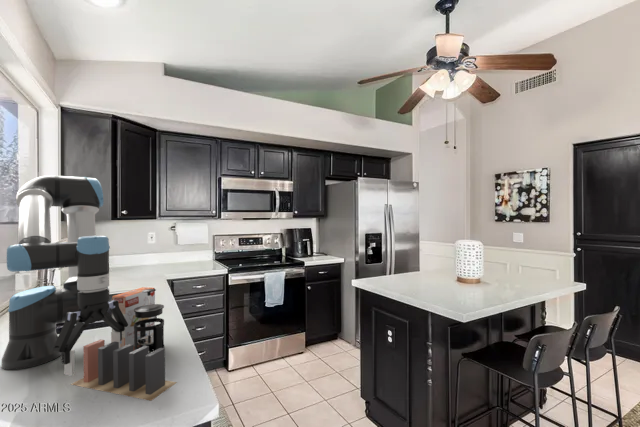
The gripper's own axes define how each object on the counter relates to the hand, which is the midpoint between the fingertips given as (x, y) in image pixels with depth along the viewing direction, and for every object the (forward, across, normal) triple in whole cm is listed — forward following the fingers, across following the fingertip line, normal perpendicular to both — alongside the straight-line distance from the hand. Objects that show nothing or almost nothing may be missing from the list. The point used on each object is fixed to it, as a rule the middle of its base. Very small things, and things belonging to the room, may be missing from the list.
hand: (94, 363), depth 91 cm
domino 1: (+4, 0, -6) cm, 7 cm away
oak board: (+5, 0, -11) cm, 12 cm away
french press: (+5, +16, -4) cm, 17 cm away
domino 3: (+4, 0, -16) cm, 17 cm away
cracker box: (+6, +20, +7) cm, 22 cm away
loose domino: (+4, 0, 0) cm, 4 cm away
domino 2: (+4, 0, -11) cm, 12 cm away
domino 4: (+4, 0, -22) cm, 22 cm away
